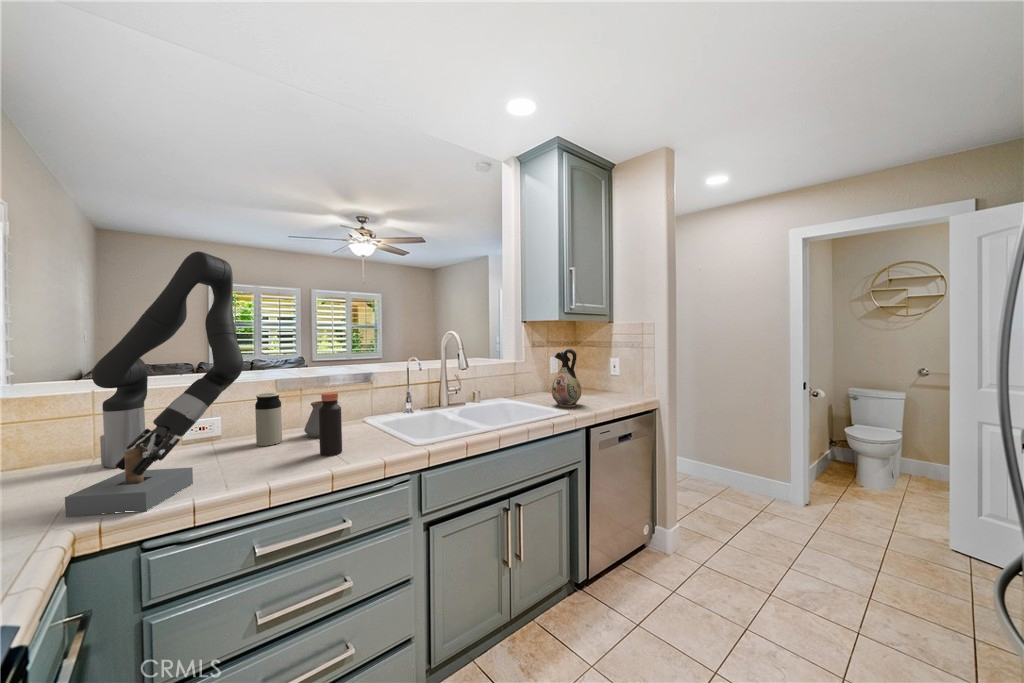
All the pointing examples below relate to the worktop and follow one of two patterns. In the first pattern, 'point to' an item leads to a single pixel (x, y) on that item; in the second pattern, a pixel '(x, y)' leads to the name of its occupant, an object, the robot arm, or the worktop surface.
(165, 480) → the hole block
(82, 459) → the worktop surface
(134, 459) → the peg
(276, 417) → the travel mug
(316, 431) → the coffee pot
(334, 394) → the bottle
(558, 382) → the ceramic jug
